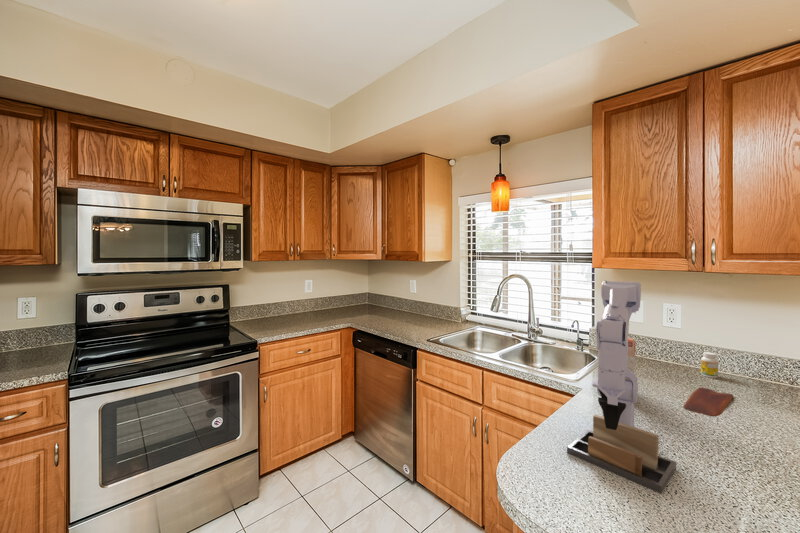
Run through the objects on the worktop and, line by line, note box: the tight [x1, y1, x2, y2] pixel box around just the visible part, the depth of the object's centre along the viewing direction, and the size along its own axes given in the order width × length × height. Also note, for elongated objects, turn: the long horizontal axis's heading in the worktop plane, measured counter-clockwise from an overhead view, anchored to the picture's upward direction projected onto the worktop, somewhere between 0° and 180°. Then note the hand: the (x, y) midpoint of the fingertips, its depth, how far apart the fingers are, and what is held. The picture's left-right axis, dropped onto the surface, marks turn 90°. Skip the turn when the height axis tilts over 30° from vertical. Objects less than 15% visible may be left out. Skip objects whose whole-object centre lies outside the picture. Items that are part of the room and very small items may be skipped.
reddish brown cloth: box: [683, 387, 734, 417], centre depth 120 cm, size 27×10×2 cm, turn 128°
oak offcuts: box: [588, 436, 642, 476], centre depth 84 cm, size 3×11×6 cm, turn 40°
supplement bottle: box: [700, 351, 719, 379], centre depth 144 cm, size 5×5×10 cm
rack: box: [566, 429, 677, 494], centre depth 86 cm, size 13×20×2 cm, turn 40°
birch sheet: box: [592, 414, 660, 470], centre depth 88 cm, size 2×14×8 cm, turn 40°
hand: (610, 421), depth 86 cm, fingers open, 7 cm apart
